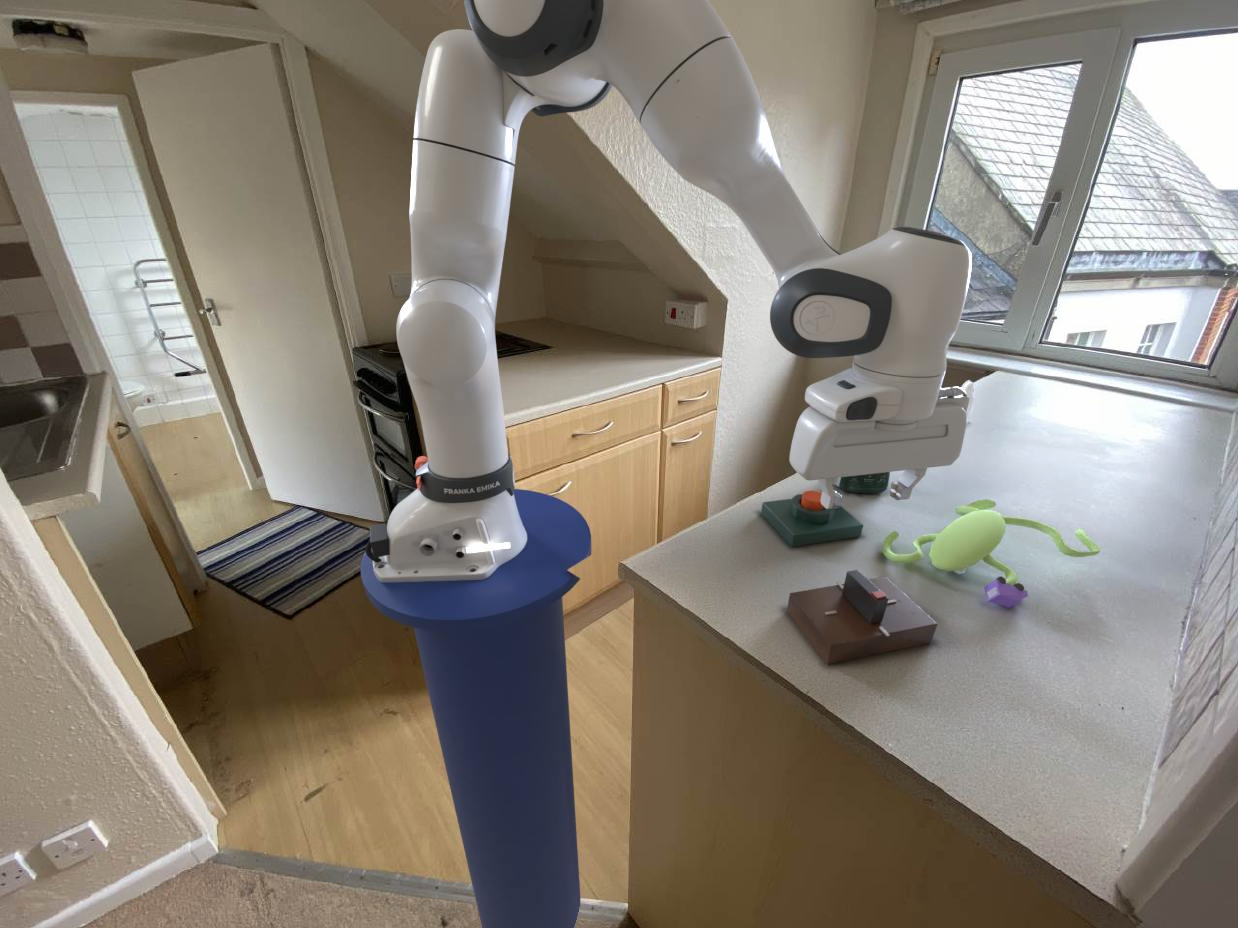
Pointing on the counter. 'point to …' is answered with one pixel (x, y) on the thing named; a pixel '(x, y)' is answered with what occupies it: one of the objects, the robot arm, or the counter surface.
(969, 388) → the white folded napkin
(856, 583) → the dark block
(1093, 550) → the figurine
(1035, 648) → the counter surface
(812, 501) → the button
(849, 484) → the coffee jar
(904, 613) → the knob panel
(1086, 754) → the counter surface
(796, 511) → the button box
